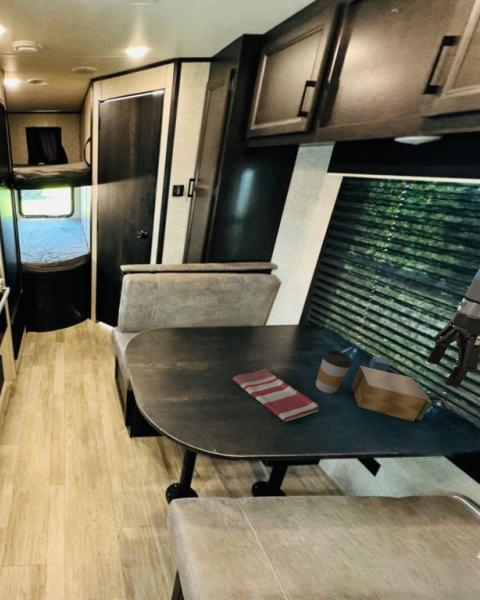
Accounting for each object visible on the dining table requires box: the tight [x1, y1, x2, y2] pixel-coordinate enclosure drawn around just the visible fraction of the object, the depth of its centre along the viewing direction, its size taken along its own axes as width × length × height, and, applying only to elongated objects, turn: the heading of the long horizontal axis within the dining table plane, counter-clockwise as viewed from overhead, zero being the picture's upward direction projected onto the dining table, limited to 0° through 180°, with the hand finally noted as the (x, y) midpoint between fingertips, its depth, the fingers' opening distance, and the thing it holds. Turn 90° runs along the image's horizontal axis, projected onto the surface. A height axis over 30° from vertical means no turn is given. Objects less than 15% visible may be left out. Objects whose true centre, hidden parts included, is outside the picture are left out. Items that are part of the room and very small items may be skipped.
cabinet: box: [351, 365, 427, 422], centre depth 111 cm, size 15×13×10 cm
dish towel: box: [232, 367, 320, 423], centre depth 116 cm, size 17×23×3 cm
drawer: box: [415, 381, 453, 421], centre depth 108 cm, size 20×11×8 cm, turn 61°
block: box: [368, 355, 391, 372], centre depth 129 cm, size 5×5×5 cm
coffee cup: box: [315, 349, 353, 394], centre depth 117 cm, size 8×8×15 cm
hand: (441, 373), depth 101 cm, fingers open, 13 cm apart
